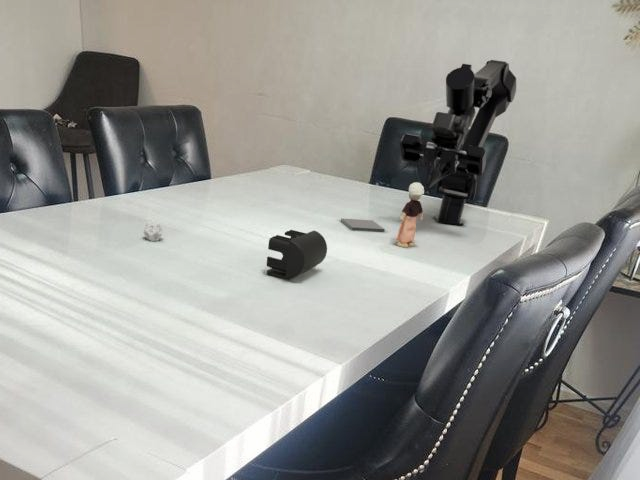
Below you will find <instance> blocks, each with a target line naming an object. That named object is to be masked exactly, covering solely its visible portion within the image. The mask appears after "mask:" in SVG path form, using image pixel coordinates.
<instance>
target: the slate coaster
mask: <svg viewBox="0 0 640 480" xmlns="http://www.w3.org/2000/svg"><path fill="white" fill-rule="evenodd" d="M340 222H341V223H343V224H344V225H345V226H346V227H348V228H349V229H350V230H351V231H363V232H378V233H379V232H380V233H381V232H382V233H384V232H385V230H386V229H385V228H383V226H381V225H379V224H378V223H377V222H376V221H374V220H373V219H357V218H341V219H340Z"/></svg>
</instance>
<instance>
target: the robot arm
mask: <svg viewBox="0 0 640 480" xmlns="http://www.w3.org/2000/svg"><path fill="white" fill-rule="evenodd" d="M516 93H517V77H516V76H515V74H514V73H513V72H512V70H510V63H508V62H507V61H503V60H498V59H497V60H496V59H490V60H487V61H486V63H485V65H484V66H482V68H481V69H479V70H478V71H477V72H474V71H473V70H472V64H469V63H462V64H461V66H460V67H456V68H455V69H453V70H451V71H450V72H449V73H448V74H447V75H446V77H445V96H446V97H445V98H446V99H445V100H446V102H445V103H446V107H447V108H449V109H448V111H447V112H441V111H437V112H436V113H435V116H434V119H433V121H432V125H431V127H430V129H431V130H432V135H431V136H430V138H431V141H427V142H426V144H423V141H422V135H417V134H411V133H404V134H403V135H402V137H401V139H400V141H399V147H400V155H401V160H403V162H407V163H412V164H417V163H418V162H420V160H421V158H423V168H425V169H426V179H425V188H427V189H430V188H432V187H433V186H434V185H436V184H437V186H436V187H437V188H436V194H437V195H442V199H441V203H440V207H439V212H438V214H434V219H435V220H436V222H438V223H441V224H448V225H449V224H450V225H457V226H464V224H465V223H464V222H463V221H462V220H461V219H462V215H463V211H464V208H465V204H466V201H474V200H475V197H476V192H477V184H478V181H477V177H481V176H482V175H483V173H484V171H485V168H486V165H487V149H486V147H483V146H484V144H485V141H486V140H487V137H488V135H489V134H490V131H491V128H492V126H493V125H494V122H495V121H496V118H497V117H499V116H501V115H502V114H504V113H505V112H506V111H507V109H509V106H510V103H513V101H514V99H515V96H516ZM477 108H478V111H477V113H476V109H477ZM438 160H439V161H438Z"/></svg>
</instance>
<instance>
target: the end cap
mask: <svg viewBox="0 0 640 480" xmlns="http://www.w3.org/2000/svg"><path fill="white" fill-rule="evenodd" d="M267 250H270V251H273V252H277V253H280V254H282V257H281V259H279V258H276V257H272V256H267V257H266V267H268V268H269V269H267V270H266V275H267V276H270V277H273V278H277V279H281V280H284V281H291V280H292V279H294V278H296V277H298V276H300V275H302V274H304V273H306V272H308V271H309V270H312V269H314V268H316V267H317V266H318V265H320V264H322V262H324V260H325V259H326V256H327V253H328V245H327V242H326V239H325V237H324V236H323V235H322V234H321V233H320V232H319V231H316V230H312V231H309V232H303V231H298V230H295V229H290V230H287V231H285V232H284V236H283V235H279V234H276V235H274V236H273V235H272V237H269V240H268V247H267Z"/></svg>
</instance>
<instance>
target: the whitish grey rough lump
mask: <svg viewBox="0 0 640 480" xmlns="http://www.w3.org/2000/svg"><path fill="white" fill-rule="evenodd" d="M163 233H164V229H163V227H162V225H161V223H159V222H157V221H147V223H146V225H145V227H144V229H143V235H144V236H145V238H146V240H148V241H151V242H159V241H160V239H161V237H162V236H163Z"/></svg>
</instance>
